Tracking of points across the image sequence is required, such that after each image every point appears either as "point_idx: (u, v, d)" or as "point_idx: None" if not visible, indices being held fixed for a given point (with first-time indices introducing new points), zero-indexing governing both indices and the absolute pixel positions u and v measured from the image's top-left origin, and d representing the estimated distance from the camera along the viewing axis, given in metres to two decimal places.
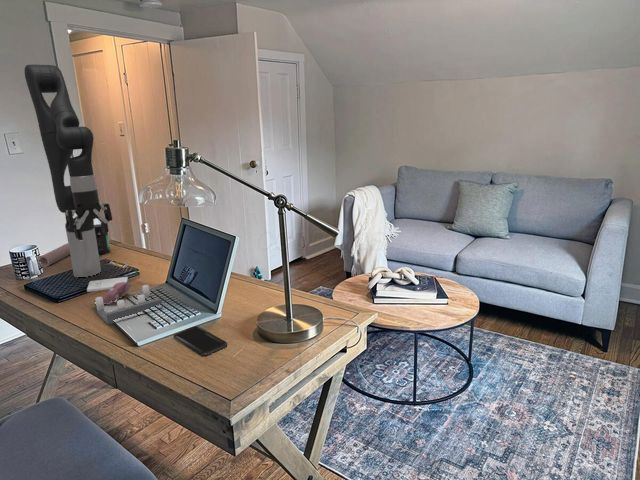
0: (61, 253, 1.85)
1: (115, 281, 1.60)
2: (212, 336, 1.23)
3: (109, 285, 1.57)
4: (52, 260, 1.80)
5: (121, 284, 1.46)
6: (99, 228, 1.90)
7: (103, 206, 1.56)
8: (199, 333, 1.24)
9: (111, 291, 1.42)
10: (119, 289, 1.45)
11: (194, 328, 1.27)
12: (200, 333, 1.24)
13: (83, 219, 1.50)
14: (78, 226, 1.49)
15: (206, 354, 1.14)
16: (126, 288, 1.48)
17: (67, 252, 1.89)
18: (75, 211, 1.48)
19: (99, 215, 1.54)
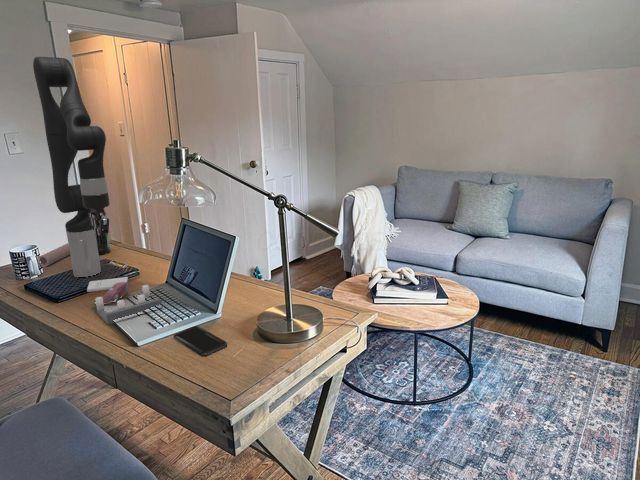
0: (61, 253, 1.85)
1: (115, 281, 1.60)
2: (212, 336, 1.23)
3: (109, 285, 1.57)
4: (51, 260, 1.80)
5: (120, 284, 1.46)
6: None
7: None
8: (199, 333, 1.24)
9: (110, 291, 1.42)
10: (118, 289, 1.45)
11: (194, 328, 1.27)
12: (200, 333, 1.24)
13: None
14: None
15: (206, 354, 1.14)
16: (125, 288, 1.48)
17: (67, 252, 1.89)
18: (104, 216, 1.42)
19: None
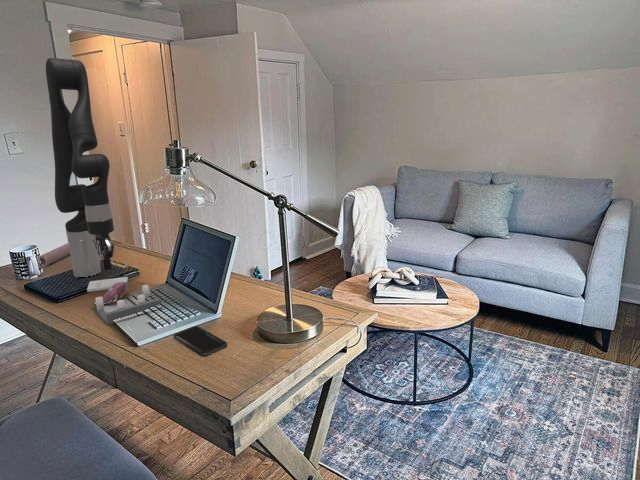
0: (60, 253, 1.85)
1: (115, 281, 1.60)
2: (212, 336, 1.23)
3: (109, 285, 1.57)
4: (50, 260, 1.80)
5: (120, 284, 1.46)
6: None
7: None
8: (199, 333, 1.24)
9: (110, 291, 1.42)
10: (118, 289, 1.45)
11: (194, 328, 1.27)
12: (200, 333, 1.24)
13: None
14: None
15: (206, 354, 1.14)
16: (125, 288, 1.48)
17: (66, 252, 1.89)
18: (108, 242, 1.45)
19: None
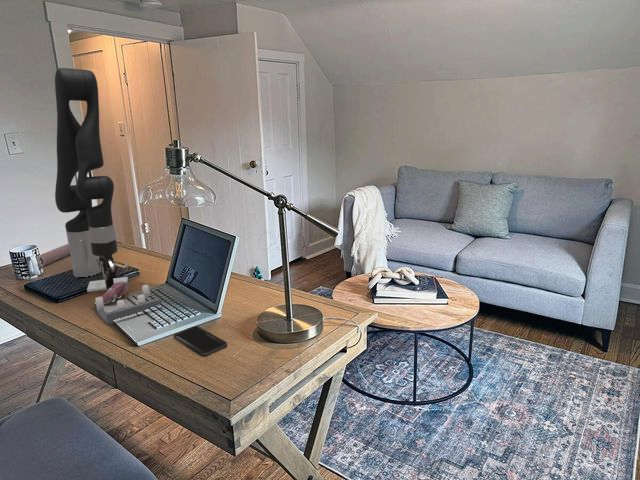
0: (59, 253, 1.85)
1: (115, 281, 1.60)
2: (212, 336, 1.23)
3: None
4: (48, 260, 1.80)
5: (119, 284, 1.46)
6: None
7: None
8: (199, 333, 1.24)
9: (109, 291, 1.42)
10: (117, 289, 1.45)
11: (194, 328, 1.27)
12: (200, 333, 1.24)
13: None
14: None
15: (206, 354, 1.14)
16: (124, 288, 1.48)
17: (66, 252, 1.89)
18: (112, 263, 1.46)
19: None
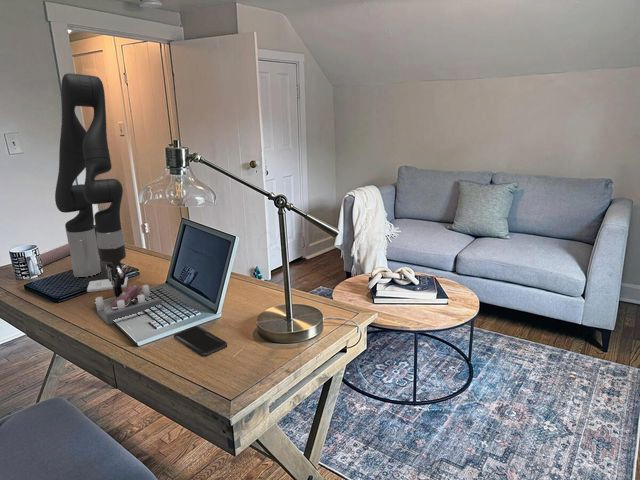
0: (58, 253, 1.85)
1: None
2: (212, 336, 1.23)
3: (109, 285, 1.57)
4: (47, 260, 1.80)
5: (133, 288, 1.43)
6: None
7: None
8: (199, 333, 1.24)
9: (123, 295, 1.39)
10: (131, 293, 1.42)
11: (194, 328, 1.27)
12: (200, 333, 1.24)
13: None
14: None
15: (206, 354, 1.14)
16: (137, 292, 1.45)
17: (66, 252, 1.89)
18: (120, 269, 1.40)
19: None
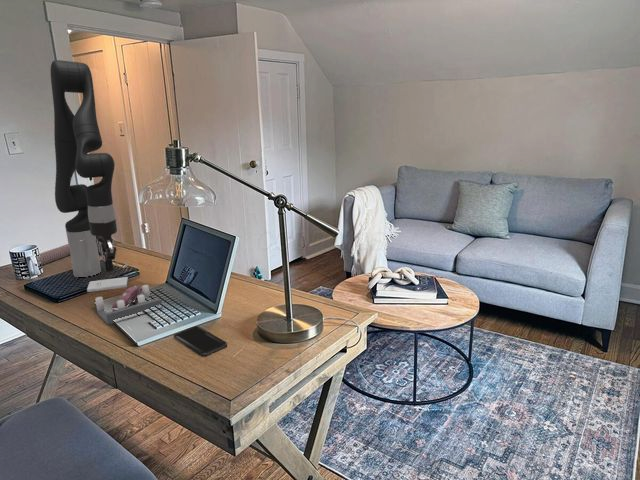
0: (57, 253, 1.85)
1: (115, 281, 1.60)
2: (212, 336, 1.23)
3: (109, 285, 1.57)
4: (44, 260, 1.80)
5: (133, 289, 1.42)
6: None
7: None
8: (199, 333, 1.24)
9: (124, 296, 1.39)
10: (132, 294, 1.41)
11: (194, 328, 1.27)
12: (200, 333, 1.24)
13: None
14: None
15: (206, 354, 1.14)
16: (138, 293, 1.45)
17: (65, 252, 1.89)
18: None
19: None
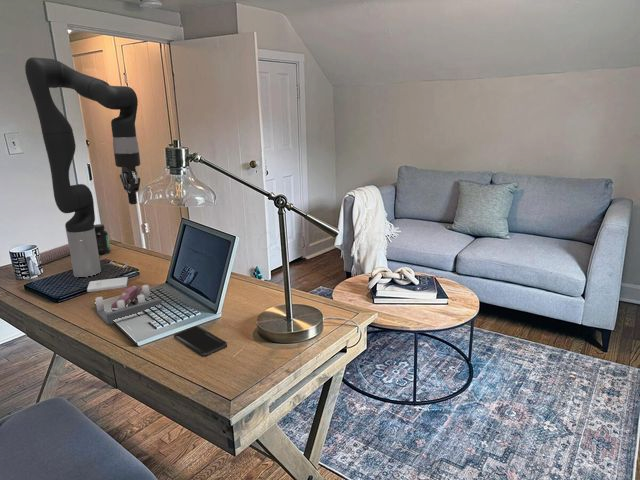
0: (56, 253, 1.85)
1: (115, 281, 1.60)
2: (212, 336, 1.23)
3: (109, 285, 1.57)
4: (44, 260, 1.80)
5: (133, 288, 1.42)
6: (99, 228, 1.90)
7: None
8: (199, 333, 1.24)
9: (123, 296, 1.39)
10: (131, 294, 1.41)
11: (194, 328, 1.27)
12: (200, 333, 1.24)
13: None
14: None
15: (206, 354, 1.14)
16: (137, 292, 1.45)
17: (65, 252, 1.89)
18: (135, 175, 1.47)
19: None
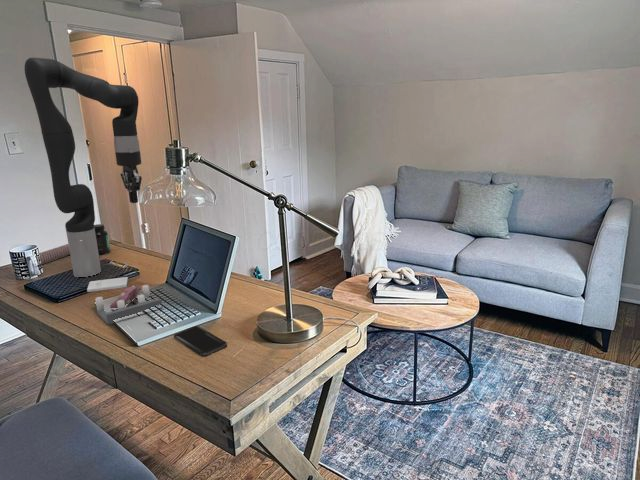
0: (56, 253, 1.85)
1: (115, 281, 1.60)
2: (212, 336, 1.23)
3: (109, 285, 1.57)
4: (42, 260, 1.80)
5: (131, 288, 1.42)
6: (99, 228, 1.90)
7: None
8: (199, 333, 1.24)
9: (122, 296, 1.39)
10: (130, 294, 1.41)
11: (194, 328, 1.27)
12: (200, 333, 1.24)
13: None
14: None
15: (206, 354, 1.14)
16: (136, 292, 1.45)
17: (64, 252, 1.89)
18: (136, 174, 1.47)
19: None
